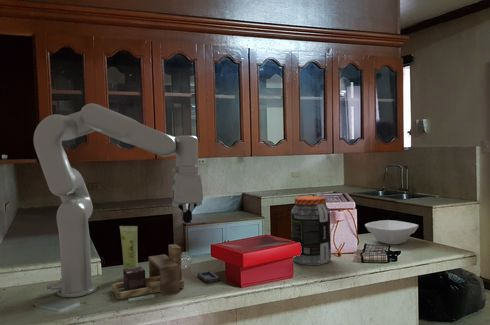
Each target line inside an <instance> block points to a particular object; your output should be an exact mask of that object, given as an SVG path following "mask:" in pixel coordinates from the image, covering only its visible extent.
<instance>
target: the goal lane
mask: <svg viewBox="0 0 490 325" xmlns="http://www.w3.org/2000/svg"><path fill="white" fill-rule="evenodd" d="M154 298H155V294H154V293H151V294H146V295H140V296H135V297H132V298H131V297H129V298H128V299H127V300H128V302H129V303H133V302H134V303H135V302H138V301H142V300H149V299H154Z"/></svg>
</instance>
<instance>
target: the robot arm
mask: <svg viewBox="0 0 490 325" xmlns="http://www.w3.org/2000/svg"><path fill="white" fill-rule="evenodd" d="M94 132H98V133H100V134H103V135H105V136H108V137H111V138H113V139H116V140H117V141H121V142H123V143H124V144H125V143H126V144H129V145H132V146H135V147H137V148H140V149H142V150H145V151H147V152H150V153H152V154H155V155H157V156H159V157H163V158H166V157H167V158H168V157H170V156H176V157H175V158H176V159H175V160H176V164H175V167H172V169H171V170H172V172H174V173H175V174H174V177H173V182H172V189H171V190H172V191H171V194H172V195H171V196H172V197H171V199H172V203H171V206H172V207H175V208H179V209H180V211H182V214H181V215H182V221H183V223H184V224H191V223H192V220H193V211H194V210H195V209H196V207H199V206H202V205H203V199H204V197H203V196H204V194H203V192H204V191H203V182H202V177H201V174H199V139H198V137H197V136H196V135H179V136H176V135H175V136H174V135H170V134H167V133H165V132H162V131H160V130H158V129H154V128H152V127H150V126H148V125H145V124H143V123H140V122H139V121H137V120H136V119H134V118H132V117H129V116H127V115H124V114H122V113H119V112H117V111H115V110H113V109H110V108H108V107H105V106H103V105H101V104H97V103H91V102H90V103H86V104H85V105H84V106H83V107H81V110H80V111H76V112H73V113H70V114H67V115H63V114H58V113H57V114H50V115H48V116H47V117H44V118H43V119H42V120H41V121H40V122H39V123H38V125H37V126H36V128H35V130H34V132H33V146H34V150H35V152H36V155H37V158H38V160H39V164H40V167H41V169H42V172H43V175H44V177H45V181H46V183H47V186H48V190H49V191H50V192H51V194H53V195H54V196H56V197H60V200H61V204H60V205H59V207H58V209H57V211H56V225H57V229H58V230H57V231H58V237H59V238H58V239H59V241H58V242H59V254H60V255H59V256H60V257H59V258H60V274H61V275H60V278H59V280H57V282H48V283H46V289H47V290H50V291H55V290H57V291H56V295H57V296H58V297H61V298H78V297H82V296H87V295H90V294H92V293H94V292H96V290H97V289H98V286H97V284H96V282H93V280H92V278H93V276H92V258H91V257H92V256H91V255H92V254H91V239H90V238H91V236H90V229H89V227H90V226H89V218H90V217H91V216H92V214H93V211H94V206H93V202H92V199H91V196H90V194H89V191H88V189H87V186H86V182H85V180H84V178H83V175H82V174H81V172H79V171H78V170H77V169H76V168H74V167H72V166H71V163H70V162H69V159H68V158H69V157H68V155H67V153H66V151H65V149H64V147H63V143H62V142H63V141H69V140H73V139H76V138H79V137H83V136H86V135H88V134H91V133H94Z"/></svg>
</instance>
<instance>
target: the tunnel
mask: <svg viewBox="0 0 490 325" xmlns="http://www.w3.org/2000/svg"><path fill="white" fill-rule="evenodd" d="M148 274H149V275H148V276H149V277H155V276H160V289H161V291H160V295H161V296H167V295H172V294H177V293H180V290H181V288H180V286H179V265H178V264H176V263H175V262H174V261H173V260H171V259H170V258H169V255H166V254H158V255H151V256H148ZM149 277H148V278H149Z"/></svg>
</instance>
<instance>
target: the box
mask: <svg viewBox="0 0 490 325" xmlns="http://www.w3.org/2000/svg"><path fill="white" fill-rule="evenodd" d="M122 270H123V282H124V288H123V291H129V290H135V289H140V288H146V280H145V278H146V270H145V269H144V268H143V267H142V266H140V265H138V267H133V268H127V269H124V268H123V269H122Z"/></svg>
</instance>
